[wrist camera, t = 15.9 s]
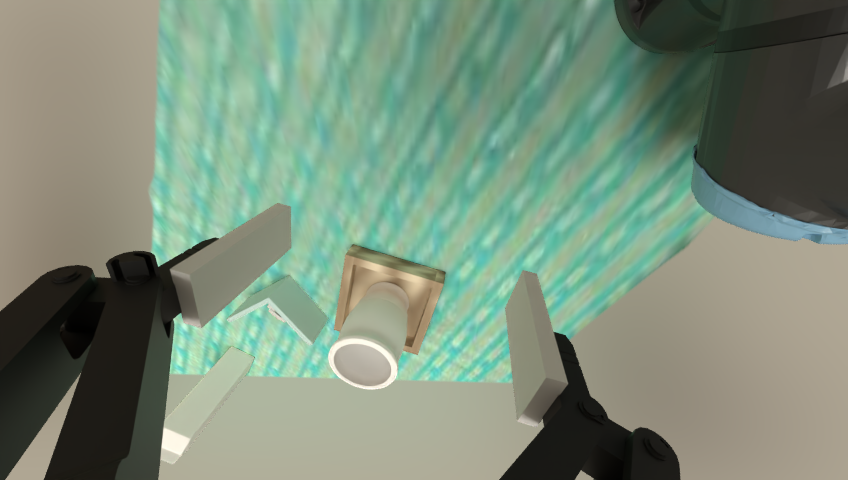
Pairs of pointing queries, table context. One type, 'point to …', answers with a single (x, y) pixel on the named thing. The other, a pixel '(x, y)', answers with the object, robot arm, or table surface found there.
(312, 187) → the table surface
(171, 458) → the milk
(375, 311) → the jar
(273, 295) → the l-shaped corner panel
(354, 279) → the wooden tray
